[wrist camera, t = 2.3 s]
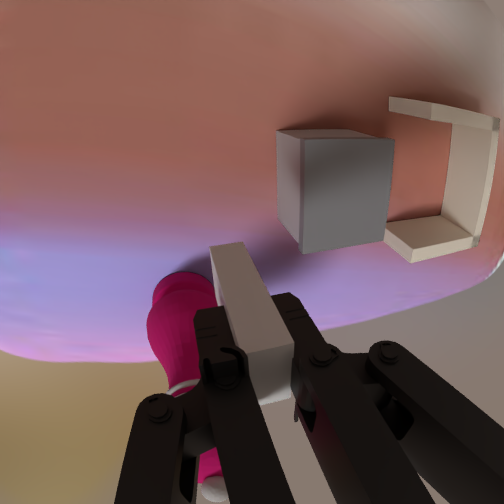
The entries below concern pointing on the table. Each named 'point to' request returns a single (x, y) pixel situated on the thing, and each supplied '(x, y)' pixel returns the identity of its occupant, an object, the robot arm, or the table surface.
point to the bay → (451, 184)
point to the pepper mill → (184, 353)
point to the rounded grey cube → (333, 187)
